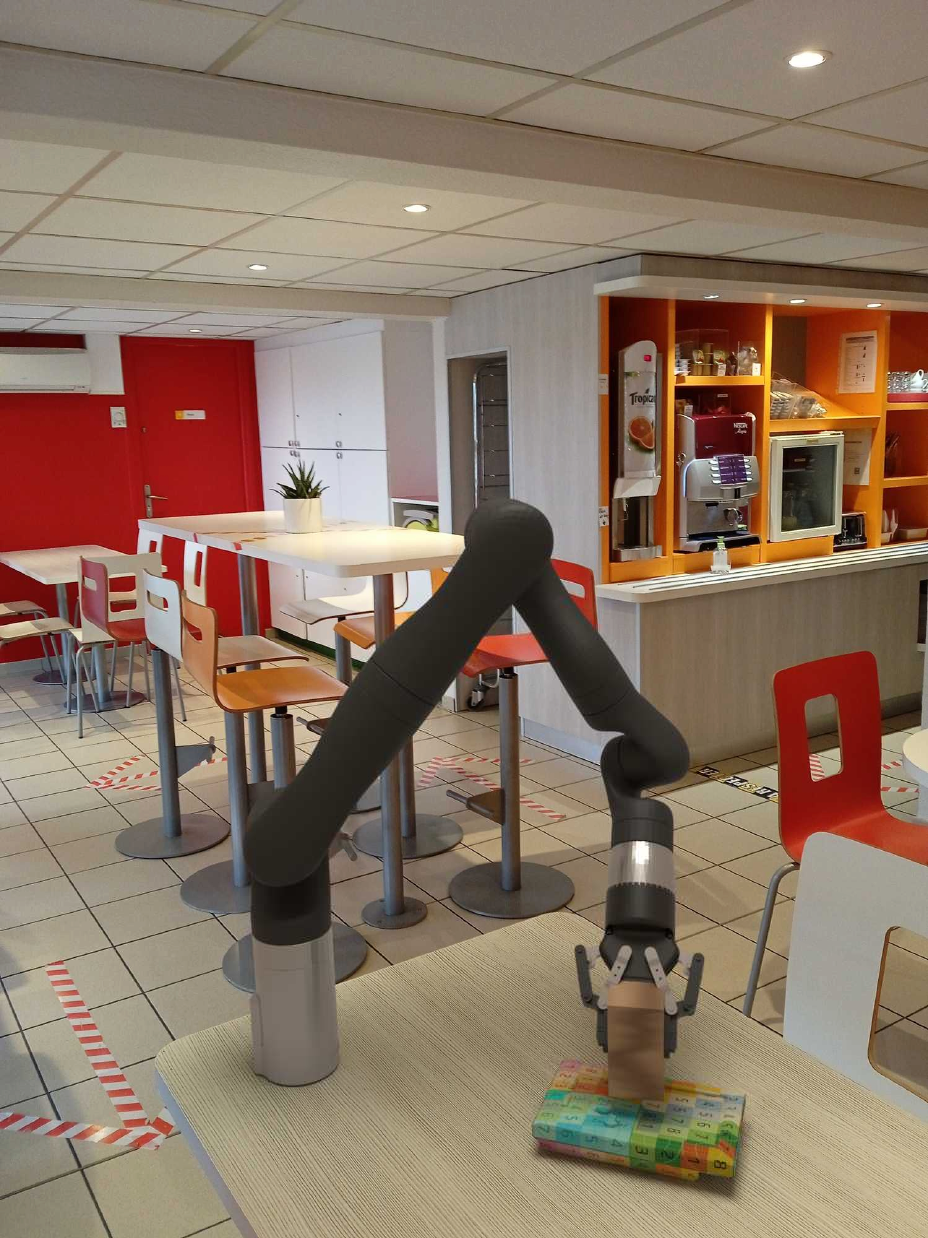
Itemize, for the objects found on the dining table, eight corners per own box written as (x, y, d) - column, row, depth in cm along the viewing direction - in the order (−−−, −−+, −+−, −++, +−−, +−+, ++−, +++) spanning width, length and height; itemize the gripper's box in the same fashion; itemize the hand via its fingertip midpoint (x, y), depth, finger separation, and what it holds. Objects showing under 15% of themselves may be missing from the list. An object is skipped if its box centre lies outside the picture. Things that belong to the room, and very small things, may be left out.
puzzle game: (561, 1053, 115) (746, 1085, 108) (562, 1091, 116) (745, 1126, 109) (531, 1116, 105) (734, 1157, 98) (532, 1158, 105) (733, 1201, 98)
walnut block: (608, 1096, 104) (607, 1005, 103) (612, 1065, 110) (611, 977, 108) (663, 1102, 103) (663, 1010, 102) (665, 1070, 109) (664, 981, 107)
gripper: (572, 876, 112) (561, 1038, 103) (708, 883, 109) (710, 1051, 99) (578, 901, 118) (568, 1057, 108) (707, 908, 115) (708, 1069, 105)
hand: (636, 1053), depth 104 cm, fingers closed on walnut block, 5 cm apart
